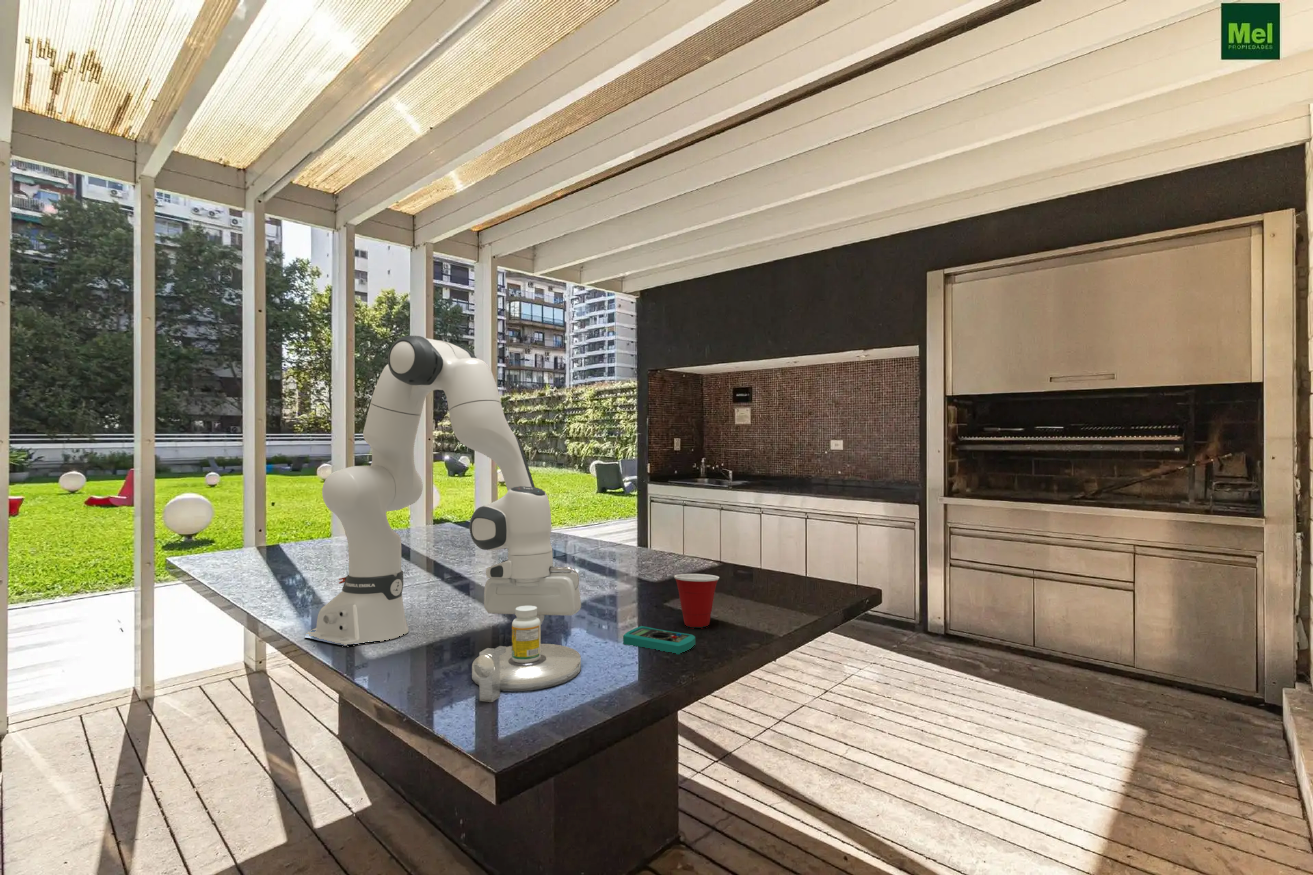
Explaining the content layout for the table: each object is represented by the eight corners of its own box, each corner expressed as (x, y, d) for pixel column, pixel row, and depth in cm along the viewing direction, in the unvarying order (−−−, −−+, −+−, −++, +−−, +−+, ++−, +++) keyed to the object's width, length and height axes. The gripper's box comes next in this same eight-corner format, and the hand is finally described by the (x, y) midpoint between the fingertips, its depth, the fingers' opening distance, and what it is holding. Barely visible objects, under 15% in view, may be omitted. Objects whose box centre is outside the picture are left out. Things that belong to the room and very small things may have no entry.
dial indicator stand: (473, 702, 102) (473, 653, 102) (493, 688, 108) (493, 642, 108) (492, 704, 101) (492, 655, 101) (512, 690, 106) (511, 644, 107)
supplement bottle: (535, 664, 113) (535, 611, 113) (507, 663, 113) (507, 611, 114) (544, 654, 118) (544, 604, 118) (517, 654, 119) (517, 604, 119)
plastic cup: (726, 622, 149) (725, 572, 149) (711, 634, 139) (710, 580, 139) (684, 617, 153) (684, 569, 154) (667, 628, 143) (666, 577, 144)
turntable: (471, 697, 103) (471, 661, 103) (472, 659, 122) (472, 629, 122) (589, 683, 109) (589, 649, 109) (572, 649, 128) (571, 620, 128)
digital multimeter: (681, 657, 124) (681, 643, 124) (621, 646, 132) (621, 632, 132) (698, 647, 131) (698, 633, 131) (640, 637, 138) (640, 624, 138)
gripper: (584, 564, 124) (587, 633, 123) (495, 564, 130) (497, 630, 129) (571, 569, 118) (574, 642, 117) (478, 569, 124) (480, 638, 123)
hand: (533, 636), depth 123 cm, fingers closed
